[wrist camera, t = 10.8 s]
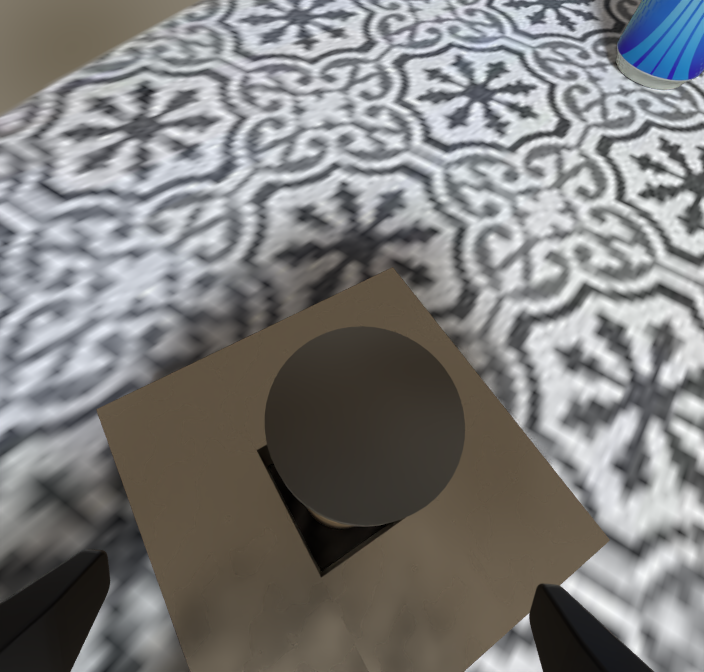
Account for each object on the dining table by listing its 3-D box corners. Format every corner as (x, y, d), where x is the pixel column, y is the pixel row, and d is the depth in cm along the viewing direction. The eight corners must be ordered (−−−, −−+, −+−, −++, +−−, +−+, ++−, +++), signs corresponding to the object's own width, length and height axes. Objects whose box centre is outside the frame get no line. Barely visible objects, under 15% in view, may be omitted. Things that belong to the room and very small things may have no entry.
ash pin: (402, 502, 21) (505, 449, 9) (324, 556, 19) (330, 574, 8) (354, 425, 22) (391, 298, 11) (279, 470, 21) (230, 380, 9)
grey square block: (559, 541, 20) (609, 540, 17) (271, 786, 16) (256, 858, 12) (382, 305, 26) (392, 267, 22) (133, 432, 21) (96, 409, 18)
